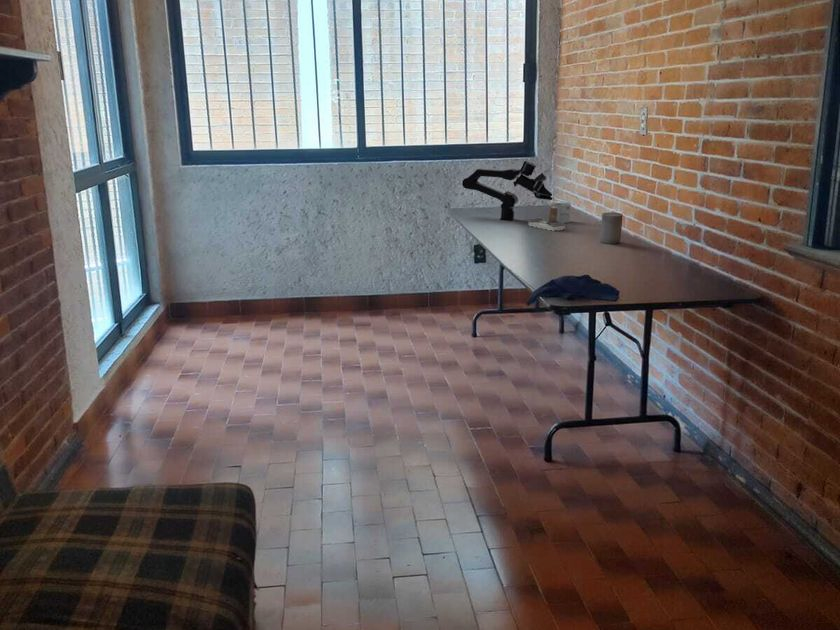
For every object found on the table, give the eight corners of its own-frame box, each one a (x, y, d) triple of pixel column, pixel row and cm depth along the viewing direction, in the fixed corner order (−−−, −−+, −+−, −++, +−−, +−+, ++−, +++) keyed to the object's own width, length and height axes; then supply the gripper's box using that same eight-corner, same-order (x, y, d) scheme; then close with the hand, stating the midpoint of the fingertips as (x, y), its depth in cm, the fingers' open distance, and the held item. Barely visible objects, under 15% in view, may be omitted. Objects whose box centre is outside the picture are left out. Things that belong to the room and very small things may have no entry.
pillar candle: (620, 241, 368) (623, 210, 363) (620, 244, 358) (623, 213, 354) (599, 239, 370) (602, 209, 366) (599, 243, 361) (601, 212, 356)
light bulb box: (568, 220, 420) (570, 201, 417) (569, 222, 414) (571, 203, 410) (549, 219, 421) (550, 200, 418) (549, 222, 415) (551, 202, 411)
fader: (546, 224, 393) (548, 203, 390) (553, 223, 396) (554, 203, 393) (551, 225, 391) (553, 204, 387) (558, 224, 394) (559, 204, 391)
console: (528, 225, 401) (529, 218, 399) (540, 224, 406) (540, 217, 405) (552, 231, 388) (553, 223, 387) (564, 229, 394) (565, 222, 392)
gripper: (534, 165, 399) (559, 180, 396) (535, 174, 418) (560, 188, 415) (523, 183, 400) (548, 198, 397) (525, 192, 418) (549, 206, 415)
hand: (552, 197), depth 406 cm, fingers open, 9 cm apart
